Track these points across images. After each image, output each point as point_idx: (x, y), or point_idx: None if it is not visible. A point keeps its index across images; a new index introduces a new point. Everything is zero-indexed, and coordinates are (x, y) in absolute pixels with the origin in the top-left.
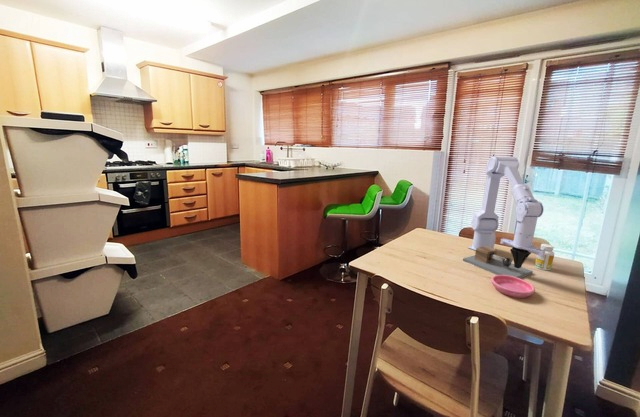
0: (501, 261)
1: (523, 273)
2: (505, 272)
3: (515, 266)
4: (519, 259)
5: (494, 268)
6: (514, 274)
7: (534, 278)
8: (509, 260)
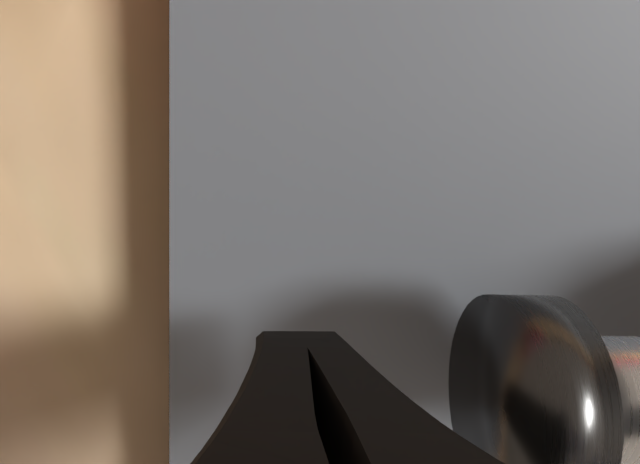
0: (616, 336)
1: (190, 379)
2: (391, 114)
3: (316, 335)
4: (253, 450)
5: (596, 112)
6: (250, 181)
7: (50, 426)
8: (512, 437)
